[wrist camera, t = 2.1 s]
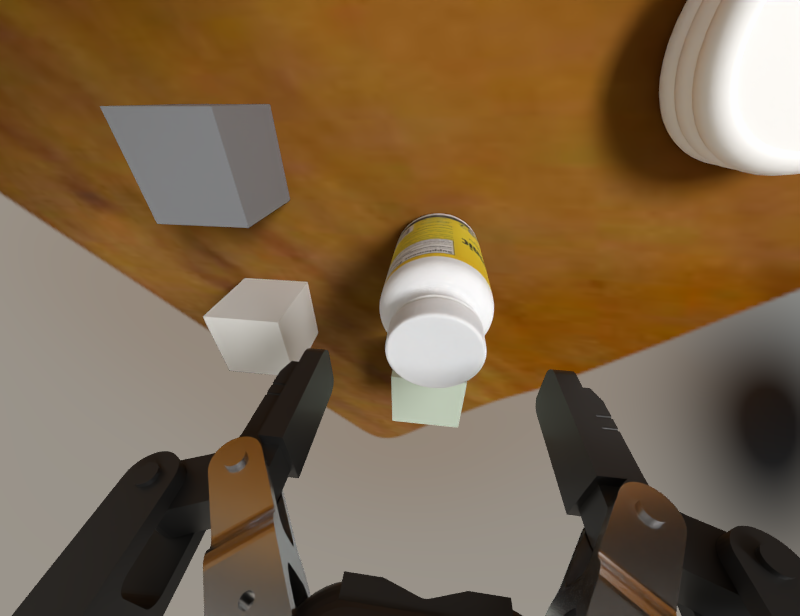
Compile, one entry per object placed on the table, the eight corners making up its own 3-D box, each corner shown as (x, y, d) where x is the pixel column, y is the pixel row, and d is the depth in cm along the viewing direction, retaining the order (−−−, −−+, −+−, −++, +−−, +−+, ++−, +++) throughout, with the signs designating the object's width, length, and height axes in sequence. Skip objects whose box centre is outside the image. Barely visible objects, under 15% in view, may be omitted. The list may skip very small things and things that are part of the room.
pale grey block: (245, 277, 23) (202, 316, 19) (308, 281, 22) (277, 322, 18) (263, 327, 26) (229, 370, 22) (318, 332, 25) (294, 377, 21)
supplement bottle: (482, 280, 20) (507, 397, 12) (406, 291, 22) (384, 403, 14) (475, 202, 17) (502, 289, 9) (387, 219, 19) (346, 309, 11)
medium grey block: (184, 104, 16) (99, 106, 12) (270, 104, 16) (211, 106, 12) (217, 197, 19) (157, 223, 15) (290, 199, 19) (248, 227, 15)
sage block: (400, 329, 24) (391, 376, 20) (462, 334, 23) (466, 383, 19) (400, 371, 27) (392, 420, 23) (455, 376, 26) (458, 427, 22)
